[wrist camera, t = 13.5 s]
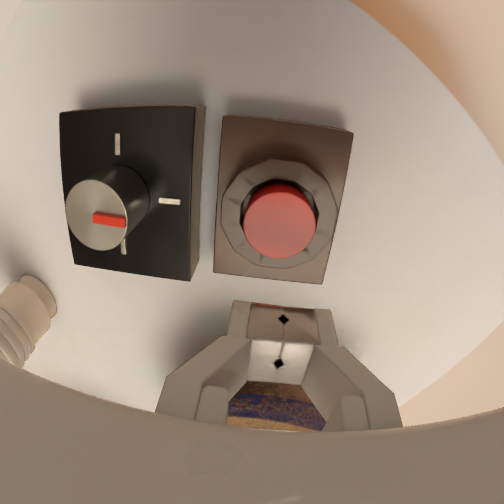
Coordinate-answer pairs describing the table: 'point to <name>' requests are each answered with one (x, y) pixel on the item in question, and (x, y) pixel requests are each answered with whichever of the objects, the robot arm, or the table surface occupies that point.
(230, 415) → the bowl
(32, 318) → the beige ribbed cylinder
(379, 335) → the table surface
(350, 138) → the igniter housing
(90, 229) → the knob
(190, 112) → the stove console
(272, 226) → the igniter button
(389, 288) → the table surface
